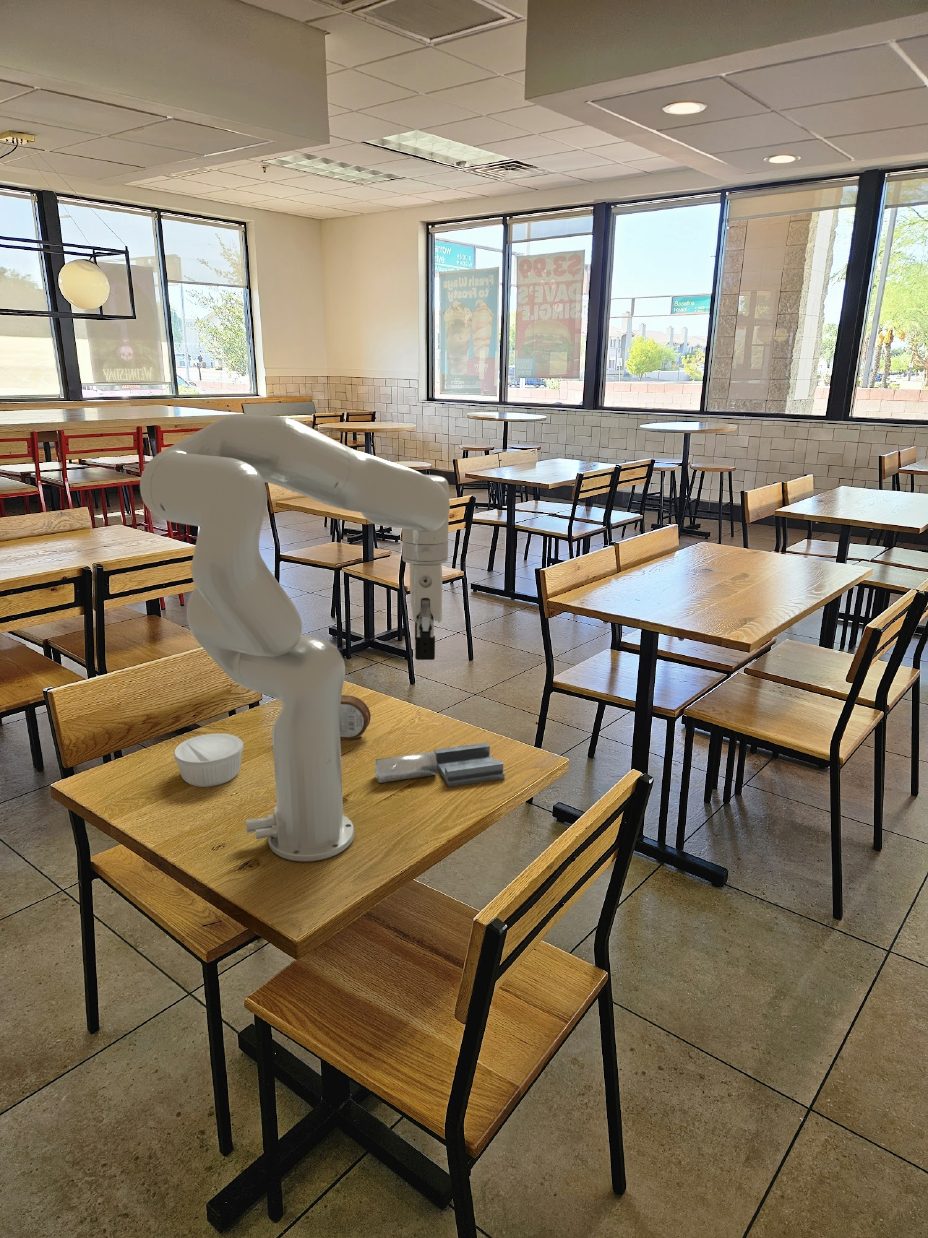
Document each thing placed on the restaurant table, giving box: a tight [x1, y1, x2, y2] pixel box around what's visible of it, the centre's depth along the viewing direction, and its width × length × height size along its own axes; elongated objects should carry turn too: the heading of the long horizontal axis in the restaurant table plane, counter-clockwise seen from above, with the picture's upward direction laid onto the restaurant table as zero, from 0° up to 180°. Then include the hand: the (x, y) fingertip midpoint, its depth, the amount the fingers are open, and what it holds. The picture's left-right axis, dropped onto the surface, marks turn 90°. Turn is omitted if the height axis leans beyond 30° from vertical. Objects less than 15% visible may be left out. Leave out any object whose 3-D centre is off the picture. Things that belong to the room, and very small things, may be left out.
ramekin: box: [173, 732, 244, 788], centre depth 139 cm, size 11×11×5 cm
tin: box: [340, 694, 372, 740], centre depth 153 cm, size 15×3×8 cm, turn 84°
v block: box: [433, 742, 506, 788], centre depth 141 cm, size 10×10×2 cm
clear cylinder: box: [374, 751, 438, 783], centre depth 139 cm, size 10×4×4 cm, turn 108°
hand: (424, 649), depth 138 cm, fingers open, 9 cm apart
